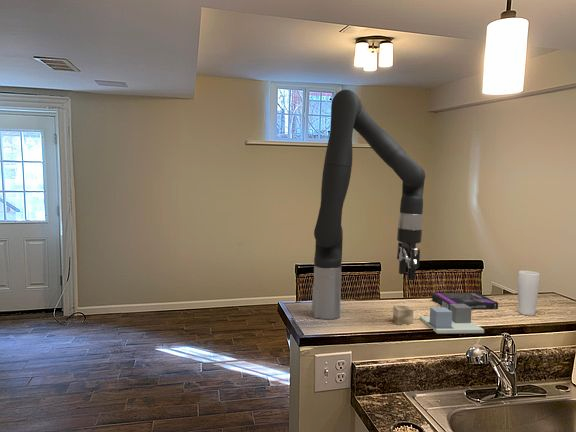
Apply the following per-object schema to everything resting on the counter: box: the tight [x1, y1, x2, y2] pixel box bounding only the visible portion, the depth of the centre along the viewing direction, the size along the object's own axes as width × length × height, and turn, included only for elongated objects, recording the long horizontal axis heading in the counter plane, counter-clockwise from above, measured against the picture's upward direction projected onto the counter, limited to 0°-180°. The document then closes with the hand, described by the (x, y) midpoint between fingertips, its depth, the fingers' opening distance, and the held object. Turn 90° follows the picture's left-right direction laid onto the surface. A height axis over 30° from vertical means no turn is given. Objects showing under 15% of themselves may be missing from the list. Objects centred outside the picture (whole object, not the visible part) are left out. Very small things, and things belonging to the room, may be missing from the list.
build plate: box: [419, 304, 485, 334], centre depth 144 cm, size 15×14×6 cm
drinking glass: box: [517, 270, 541, 316], centre depth 158 cm, size 7×7×15 cm
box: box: [431, 292, 499, 311], centre depth 170 cm, size 14×4×20 cm
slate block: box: [429, 306, 452, 328], centre depth 141 cm, size 5×5×5 cm
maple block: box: [392, 305, 414, 326], centre depth 147 cm, size 5×5×5 cm
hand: (406, 276), depth 145 cm, fingers open, 8 cm apart
